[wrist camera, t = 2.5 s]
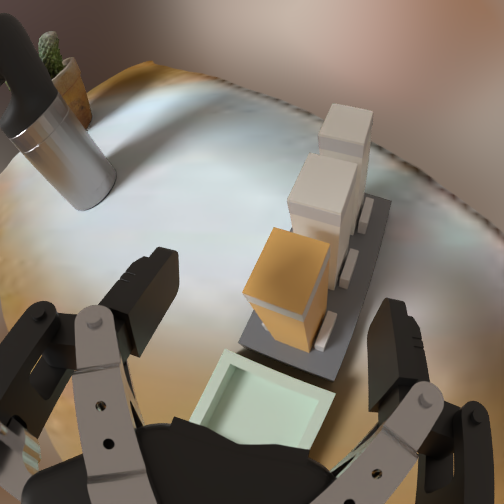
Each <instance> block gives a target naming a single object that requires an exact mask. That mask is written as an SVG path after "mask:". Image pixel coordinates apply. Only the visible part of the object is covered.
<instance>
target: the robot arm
mask: <svg viewBox="0 0 504 504" xmlns="http://www.w3.org/2000/svg"><path fill="white" fill-rule="evenodd" d="M5 81H6V82H7V84H8V86H9V87H10V90H11V92H12V97H11V101H10V103H9V105H8V107H7V109H6V110H5V112H4V114H3V115H2V117H1V120H0V128H1V129H2V131H3V132H4V133H5V134H6V136H7V137H8V138H9V139H10V140H11V141H12V142H13V144H14V145H15V146H16V147H17V148H18V149H19V150H20V152H21V153H22V154H23V155H24V156H25V157H26V158H27V159H28V160H29V161H30V162H31V164H32V165H33V166H34V167H35V168H36V169H37V170H38V171H39V172H40V173H41V174H42V175H43V176H44V177H45V179H46V180H47V181H48V182H49V183H50V184H51V185H52V186H53V187H54V188H55V189H56V190H57V191H58V192H59V193H60V194H61V195H62V196H63V197H64V198H65V199H66V200H67V201H68V202H69V203H70V204H71V205H72V206H73V207H74V208H75V209H77V210H87V209H89V208H92V207H93V206H95V205H96V204H98V203H99V202H100V201H101V200H102V199H103V198H104V197H105V196H106V195H107V194H108V193H109V191H110V190H111V188H112V187H113V184H114V182H115V179H116V171H115V169H114V168H113V166H112V165H111V164H110V162H109V161H108V160H107V158H106V157H105V156H104V154H103V153H102V152H101V150H100V149H99V147H98V146H97V145H96V143H95V142H94V141H93V139H92V138H91V137H90V135H89V134H88V133H87V131H86V130H85V128H84V127H83V126H82V124H81V123H80V121H79V120H78V119H77V117H76V116H75V114H74V113H73V112H72V110H71V109H70V107H69V106H68V105H67V103H66V102H65V100H64V99H63V98H62V96H61V95H60V93H59V92H58V90H57V89H56V87H55V86H54V84H53V82H52V79H51V77H50V74H49V72H48V70H47V68H46V67H45V65H44V63H43V62H42V60H41V58H40V56H39V55H38V53H37V51H36V49H35V48H34V45H33V43H32V42H31V40H30V38H29V36H28V34H27V32H26V30H25V29H24V27H23V26H22V24H21V23H20V22H19V21H18V20H17V19H16V18H15V17H14V16H12V15H10V14H7V13H1V14H0V86H1V85H2V84H3V83H4V82H5ZM178 288H179V259H178V252H177V251H175V250H171V249H167V248H162V247H157V248H156V249H155V251H154V252H153V253H152V254H151V255H150V257H145V256H143V257H142V258H140V259H138V260H136V261H135V262H133V263H132V264H131V265H130V267H129V268H128V269H127V270H126V272H125V273H124V274H123V275H122V276H121V277H120V280H118V281H117V282H116V283H115V285H114V286H113V287H112V288H111V289H110V291H109V292H108V293H107V294H106V296H105V297H104V298H103V299H102V301H101V302H100V303H99V304H98V305H92V306H88V307H86V308H84V309H83V310H81V311H80V312H79V313H78V315H77V314H63V313H57V310H56V308H55V306H54V305H53V304H52V303H50V302H47V301H40V302H37V303H34V304H33V305H31V306H30V307H29V308H28V309H27V310H26V311H25V312H24V314H23V315H22V316H21V317H20V319H19V320H18V321H17V322H16V324H15V325H14V326H13V328H12V329H11V330H10V332H9V333H8V335H7V336H6V337H5V338H4V340H3V341H2V343H1V344H0V486H1V487H2V488H3V489H5V490H6V491H7V492H9V493H10V494H11V495H12V496H14V497H15V498H16V499H18V500H19V501H21V504H384V503H385V502H386V501H387V500H388V499H389V497H390V496H391V495H392V494H393V492H394V491H395V490H396V489H397V487H398V486H399V485H400V483H401V482H402V481H403V479H404V478H405V477H406V475H407V474H408V473H409V471H410V470H411V468H412V467H413V466H414V464H415V463H416V461H417V459H418V477H417V491H416V501H415V504H494V462H493V448H492V437H491V428H490V421H489V415H488V412H487V410H486V409H485V407H484V406H483V405H482V404H480V403H479V402H476V401H470V402H467V403H466V404H465V405H464V406H463V407H462V408H460V407H458V406H456V405H453V404H451V403H448V402H446V401H444V398H443V395H442V393H441V391H440V390H439V389H438V388H437V387H436V386H435V385H434V384H432V383H430V380H429V374H428V368H427V362H426V357H425V351H424V350H423V348H424V346H423V341H421V339H422V337H421V332H420V327H419V326H418V324H417V323H416V321H415V319H414V318H413V317H411V316H408V314H407V310H406V305H405V302H404V301H399V300H395V299H390V298H385V299H384V300H383V302H382V304H381V306H380V308H379V310H378V312H377V313H376V315H375V317H374V319H373V321H372V323H371V325H370V327H369V330H368V335H367V351H368V385H369V412H378V422H377V423H376V424H375V425H374V427H373V428H372V429H371V430H370V431H369V432H368V433H367V435H366V436H365V437H364V438H363V439H362V440H361V441H360V442H359V443H358V444H357V446H356V447H355V448H354V449H353V450H352V451H351V452H350V453H349V454H348V455H347V456H346V457H345V458H344V459H343V460H341V461H340V462H339V463H338V464H337V465H336V466H335V467H334V468H332V469H331V470H330V471H329V470H328V469H327V468H326V467H324V466H323V465H321V464H320V463H319V462H317V461H315V460H313V459H311V458H308V455H309V449H302V448H296V447H290V446H284V445H279V444H238V443H235V442H233V441H231V440H229V439H227V438H226V437H224V436H222V435H220V434H218V433H216V432H215V431H213V430H211V429H209V428H207V427H205V426H202V425H198V424H195V423H192V422H189V421H186V420H183V419H180V418H177V417H174V418H173V420H172V423H171V424H168V423H157V424H150V425H145V424H144V420H143V417H142V414H141V412H140V409H139V406H138V402H137V399H136V395H135V391H134V387H133V382H132V378H131V374H130V369H129V365H128V361H127V358H128V357H129V355H130V354H131V355H134V356H136V357H139V358H140V356H141V354H142V353H143V351H144V349H145V347H146V346H147V344H148V342H149V341H150V339H151V337H152V335H153V334H154V332H155V330H156V329H157V327H158V325H159V323H160V322H161V320H162V318H163V317H164V315H165V313H166V312H167V310H168V308H169V307H170V305H171V303H172V302H173V300H174V298H175V297H176V295H177V292H178ZM41 355H42V357H41V358H40V356H41ZM39 358H40V360H39V361H38V359H39ZM37 361H38V363H37V364H36V362H37ZM35 364H36V366H35V368H34V369H33V367H34V365H35ZM32 369H33V371H32V372H31V370H32ZM74 370H77V371H74ZM30 372H31V374H30ZM71 376H72V382H73V392H74V401H75V409H76V416H77V423H78V429H79V435H80V441H81V446H82V451H83V454H80V455H78V456H76V457H73V458H71V459H68V460H66V461H64V462H61V463H59V464H56V465H54V466H51V467H49V468H46V469H44V470H41V471H39V469H38V463H39V462H40V460H41V454H40V446H39V442H38V440H37V439H38V437H39V435H40V433H41V431H42V429H43V427H44V425H45V423H46V422H47V420H48V418H49V416H50V414H51V412H52V410H53V408H54V406H55V404H56V402H57V401H58V399H59V397H60V395H61V393H62V392H63V390H64V388H65V386H66V384H67V383H68V381H69V379H70V377H71ZM417 452H418V453H419V455H418V454H417ZM453 453H454V477H453ZM418 457H419V458H418Z"/></svg>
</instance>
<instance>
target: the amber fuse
mask: <svg viewBox="0 0 504 504" xmlns="http://www.w3.org/2000/svg"><path fill="white" fill-rule="evenodd" d="M329 257H330V244H329V243H326V242H323V241H319V240H316V239H313V238H309V237H306V236H302V235H299V234H296V233H292V232H289V231H285V230H282V229H279V228H275V227H274V228H273V230H272V232H271V234H270V236H269V238H268V240H267V242H266V244H265V246H264V248H263V251H262V253H261V255H260V257H259V259H258V261H257V263H256V265H255V267H254V269H253V271H252V273H251V275H250V277H249V279H248V281H247V283H246V286H245V288H244V290H243V292H242V293H243V295H244V296H245V298H246V299H247V301H248V302H249V303H250V304H251V306H252V307H253V309H254V310H255V312H256V313H257V315H258V316H259V318H260V319H261V320H262V322H263V323H264V325H265V326H266V328H267V329H268V331H269V332H270V333H271V335H272V336H273V338H274V339H275V340H277V341H279V342H282V343H284V344H287V345H289V346H292V347H295V348H297V349H300V350H303V351H305V352H308V353H309V352H310V350H311V348H312V345H313V343H314V340H315V338H316V336H317V333H318V331H319V328H320V326H321V323H322V321H323V318H324V316H325V313H326V309H327V294H328V277H329Z"/></svg>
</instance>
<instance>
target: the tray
mask: <svg viewBox="0 0 504 504" xmlns="http://www.w3.org/2000/svg"><path fill="white" fill-rule="evenodd" d="M335 394H336V393H333V392H330V391H327V390H324V389H322V388H319V387H316V386H314V385H311V384H308V383H306V382H303V381H300V380H298V379H295V378H293V377H290V376H288V375H285V374H283V373H280V372H278V371H275V370H273V369H270V368H268V367H266V366H263V365H261V364H259V363H256V362H254V361H252V360H249V359H247V358H245V357H243V356H240V355H238V354H236V353H234V352H231V351H229V350H227V349H225V350H224V352H223V354H222V356H221V358H220V360H219V362H218V364H217V366H216V368H215V370H214V372H213V374H212V376H211V378H210V380H209V382H208V384H207V386H206V388H205V390H204V392H203V394H202V396H201V398H200V400H199V402H198V404H197V406H196V408H195V410H194V412H193V414H192V416H191V418H190V420H189V422H192V423H195V424H198V425H202V426H205V427H207V428H209V429H211V430H213V431H215V432H216V433H218V434H220V435H222V436H224V437H226V438H227V439H229V440H231V441H233V442H235V443H238V444H279V445H284V446H290V447H296V448H302V449H310V447H311V445H312V443H313V441H314V439H315V437H316V435H317V433H318V431H319V429H320V427H321V425H322V423H323V421H324V419H325V417H326V414H327V412H328V410H329V408H330V406H331V403H332V401H333V399H334V397H335Z"/></svg>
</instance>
